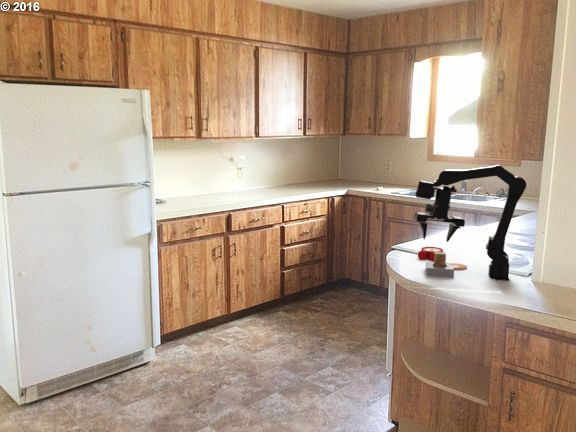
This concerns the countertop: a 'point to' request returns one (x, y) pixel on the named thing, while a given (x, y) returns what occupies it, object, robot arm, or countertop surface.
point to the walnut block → (439, 259)
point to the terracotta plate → (459, 266)
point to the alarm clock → (428, 253)
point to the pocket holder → (439, 270)
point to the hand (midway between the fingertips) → (435, 240)
